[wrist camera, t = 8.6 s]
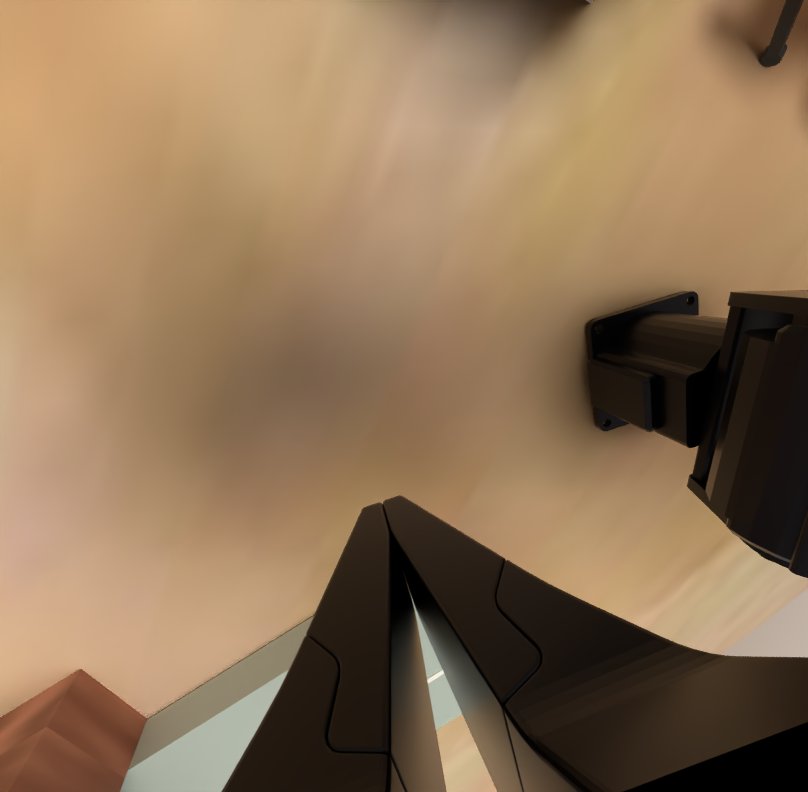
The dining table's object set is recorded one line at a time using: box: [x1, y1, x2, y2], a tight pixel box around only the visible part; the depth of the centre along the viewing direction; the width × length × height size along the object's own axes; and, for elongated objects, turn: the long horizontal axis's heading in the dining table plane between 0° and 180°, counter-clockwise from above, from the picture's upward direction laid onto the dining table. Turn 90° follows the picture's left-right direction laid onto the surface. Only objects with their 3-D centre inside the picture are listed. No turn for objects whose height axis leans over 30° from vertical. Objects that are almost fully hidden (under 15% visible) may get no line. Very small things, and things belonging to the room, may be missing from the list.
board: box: [120, 587, 462, 792], centre depth 24 cm, size 22×10×3 cm, turn 119°
